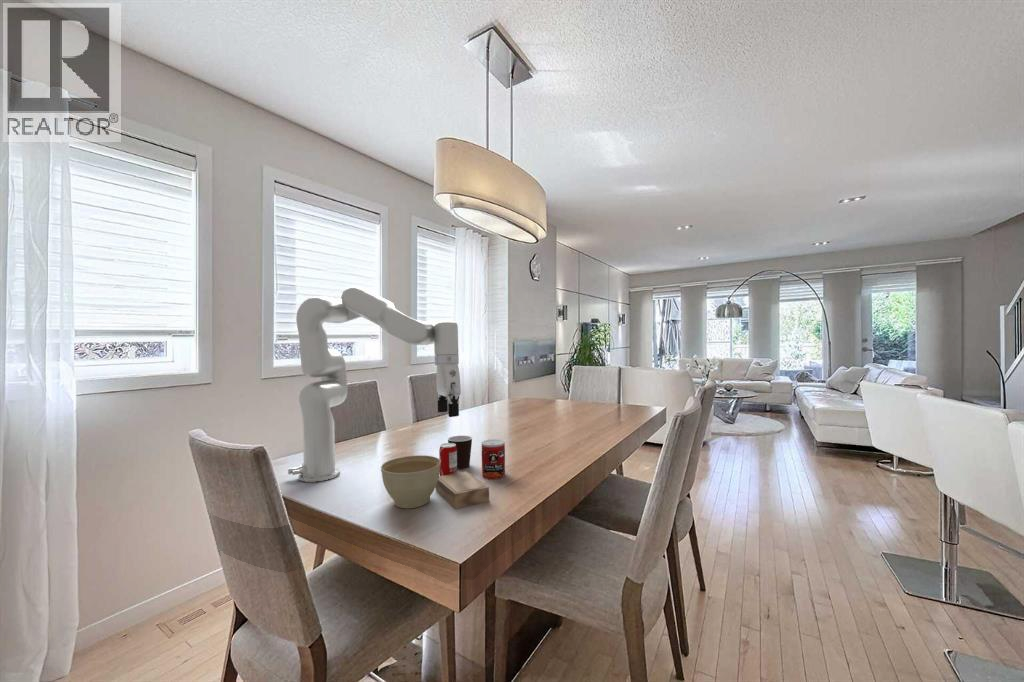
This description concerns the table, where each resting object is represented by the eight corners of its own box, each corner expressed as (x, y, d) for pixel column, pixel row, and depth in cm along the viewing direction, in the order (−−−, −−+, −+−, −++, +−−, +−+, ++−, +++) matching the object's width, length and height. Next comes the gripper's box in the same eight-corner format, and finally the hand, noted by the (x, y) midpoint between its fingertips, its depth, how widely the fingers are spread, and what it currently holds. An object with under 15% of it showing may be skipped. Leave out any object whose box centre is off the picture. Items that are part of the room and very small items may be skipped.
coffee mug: (471, 470, 142) (470, 441, 142) (446, 470, 142) (445, 441, 142) (474, 460, 154) (474, 433, 154) (451, 460, 154) (451, 433, 154)
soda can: (440, 479, 133) (439, 442, 133) (457, 478, 134) (456, 441, 134) (439, 485, 128) (438, 446, 128) (457, 484, 129) (456, 445, 129)
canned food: (481, 479, 132) (481, 445, 132) (482, 471, 140) (482, 439, 140) (505, 479, 133) (504, 444, 133) (505, 471, 141) (504, 438, 141)
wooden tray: (455, 509, 110) (455, 493, 110) (435, 490, 124) (435, 476, 124) (489, 501, 115) (488, 486, 115) (466, 484, 129) (466, 470, 129)
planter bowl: (397, 490, 124) (396, 454, 124) (448, 492, 122) (448, 455, 122) (370, 512, 108) (369, 471, 108) (429, 516, 106) (428, 473, 106)
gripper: (468, 360, 125) (469, 417, 125) (448, 358, 140) (449, 409, 140) (445, 361, 121) (446, 419, 121) (426, 359, 136) (428, 411, 137)
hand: (448, 414), depth 131 cm, fingers open, 9 cm apart
